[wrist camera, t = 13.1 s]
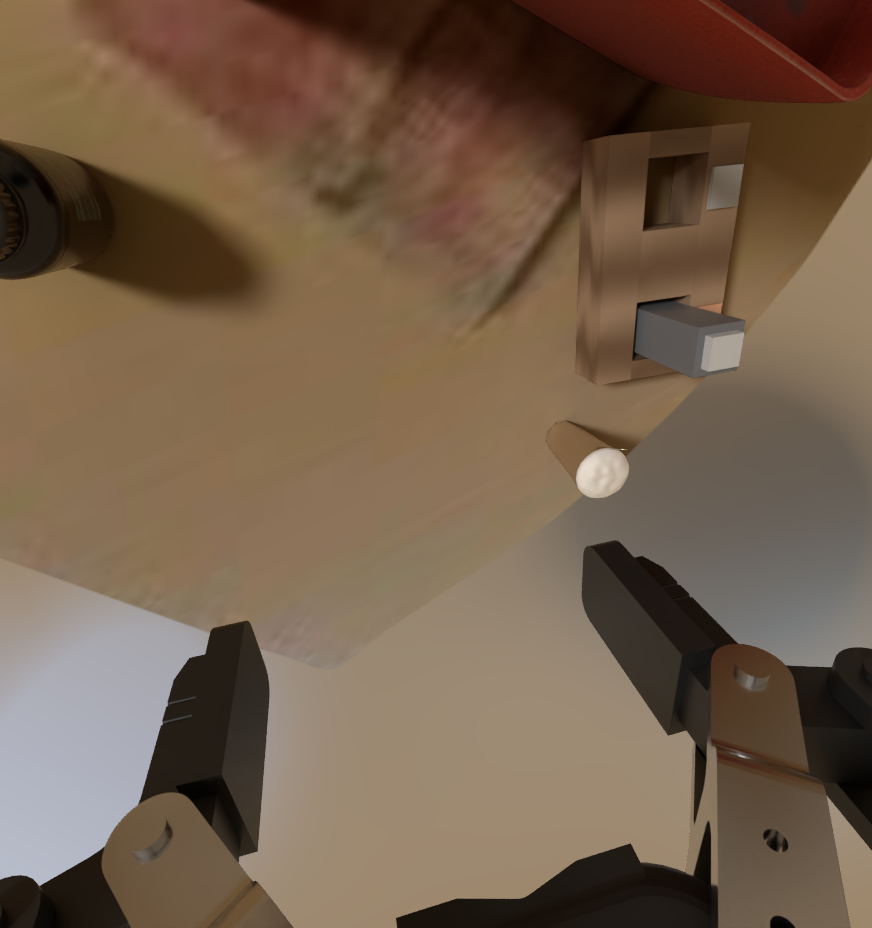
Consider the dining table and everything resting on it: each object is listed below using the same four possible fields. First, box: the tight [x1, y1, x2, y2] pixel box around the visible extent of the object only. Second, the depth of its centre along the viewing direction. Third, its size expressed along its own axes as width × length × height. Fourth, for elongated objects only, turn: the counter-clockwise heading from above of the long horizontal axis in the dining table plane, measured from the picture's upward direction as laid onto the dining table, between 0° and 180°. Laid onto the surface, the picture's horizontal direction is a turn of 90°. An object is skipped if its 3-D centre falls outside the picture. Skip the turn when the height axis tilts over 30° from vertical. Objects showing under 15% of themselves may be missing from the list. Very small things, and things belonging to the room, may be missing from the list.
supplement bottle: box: [0, 139, 113, 280], centre depth 29 cm, size 7×7×12 cm
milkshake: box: [546, 421, 629, 498], centre depth 46 cm, size 5×5×10 cm
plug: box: [633, 299, 745, 378], centre depth 41 cm, size 4×4×12 cm
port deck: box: [576, 122, 751, 385], centre depth 42 cm, size 18×11×4 cm, turn 6°
